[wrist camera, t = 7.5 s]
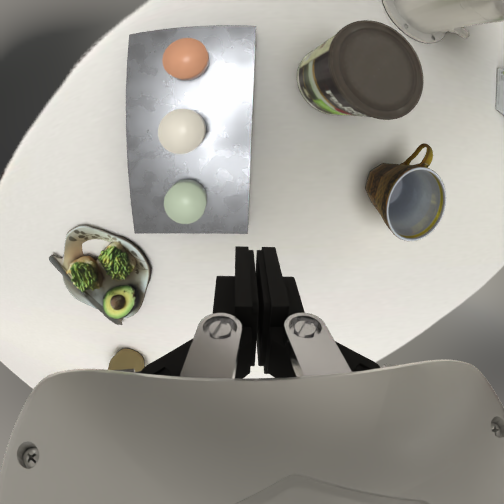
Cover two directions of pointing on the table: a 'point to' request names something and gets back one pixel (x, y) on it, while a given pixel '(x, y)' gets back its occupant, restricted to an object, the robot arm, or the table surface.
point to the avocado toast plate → (105, 273)
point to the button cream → (181, 131)
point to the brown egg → (185, 59)
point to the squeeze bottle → (127, 360)
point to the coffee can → (362, 73)
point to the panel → (216, 120)
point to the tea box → (500, 91)
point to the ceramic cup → (408, 196)
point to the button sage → (185, 201)
